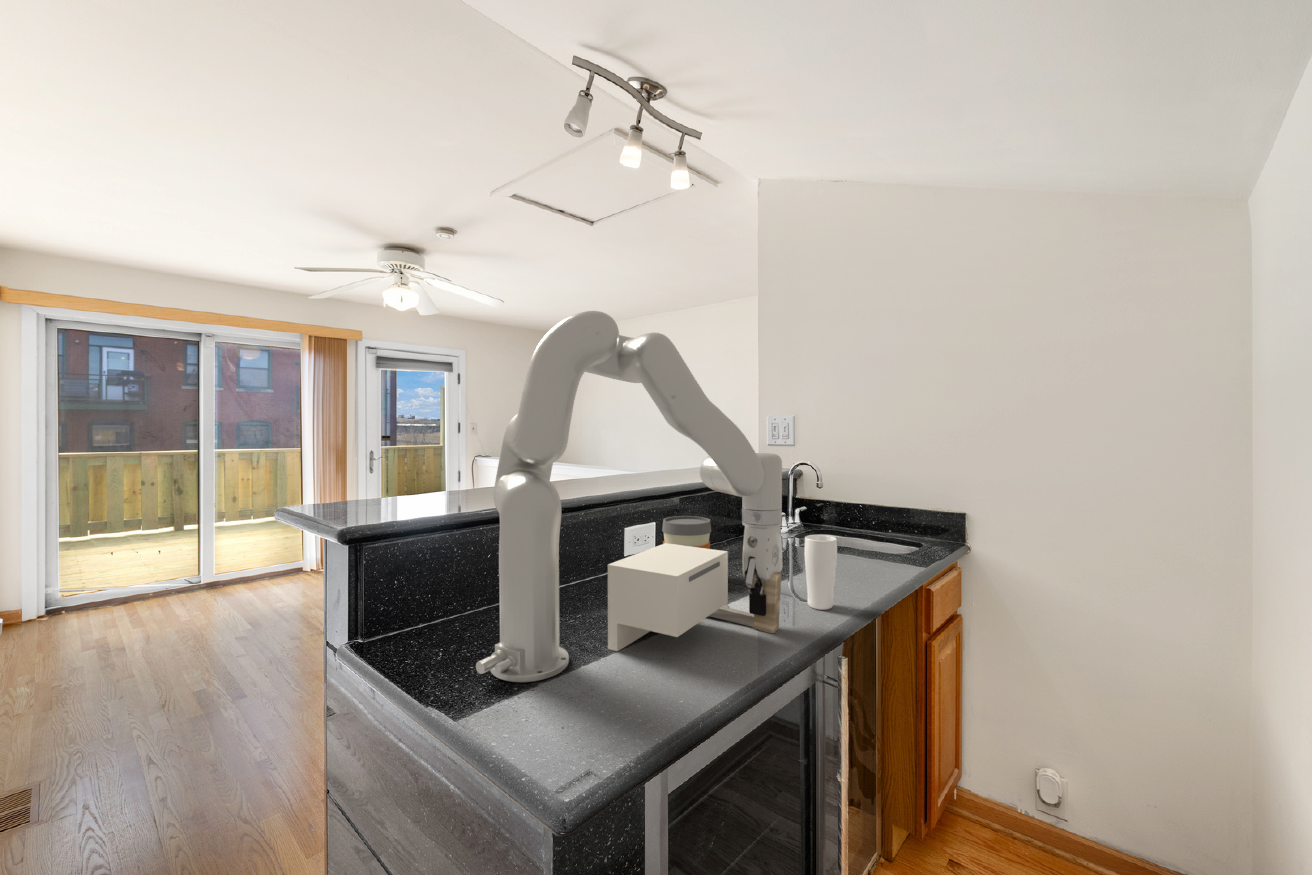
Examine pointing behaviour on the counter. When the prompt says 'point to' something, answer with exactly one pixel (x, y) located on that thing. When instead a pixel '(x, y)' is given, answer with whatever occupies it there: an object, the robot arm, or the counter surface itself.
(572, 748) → the counter surface
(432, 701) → the counter surface
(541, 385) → the robot arm
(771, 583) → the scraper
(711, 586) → the cabinet
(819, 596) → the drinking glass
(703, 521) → the reusable coffee cup
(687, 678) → the counter surface
